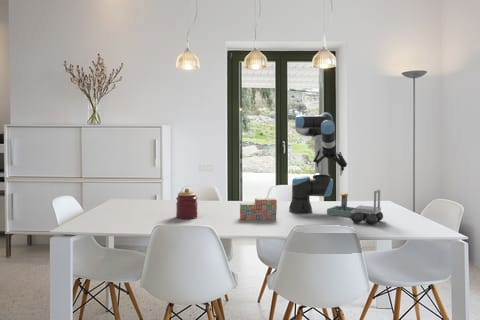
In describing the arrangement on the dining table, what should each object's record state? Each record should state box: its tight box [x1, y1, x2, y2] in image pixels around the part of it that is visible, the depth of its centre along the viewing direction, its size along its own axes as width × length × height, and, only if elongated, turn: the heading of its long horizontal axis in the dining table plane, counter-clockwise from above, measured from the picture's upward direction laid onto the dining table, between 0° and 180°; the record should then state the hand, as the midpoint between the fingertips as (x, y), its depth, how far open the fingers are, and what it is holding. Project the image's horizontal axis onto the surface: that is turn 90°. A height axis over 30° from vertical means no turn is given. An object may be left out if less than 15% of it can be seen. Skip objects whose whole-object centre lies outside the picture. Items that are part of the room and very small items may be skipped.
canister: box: [175, 187, 198, 220], centre depth 224 cm, size 13×13×18 cm
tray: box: [326, 205, 355, 218], centre depth 239 cm, size 16×16×3 cm
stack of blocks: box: [239, 197, 278, 221], centre depth 220 cm, size 21×6×12 cm, turn 95°
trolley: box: [350, 189, 384, 226], centre depth 214 cm, size 14×15×19 cm
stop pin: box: [340, 192, 349, 211], centre depth 238 cm, size 5×5×12 cm
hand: (330, 172), depth 228 cm, fingers open, 13 cm apart
